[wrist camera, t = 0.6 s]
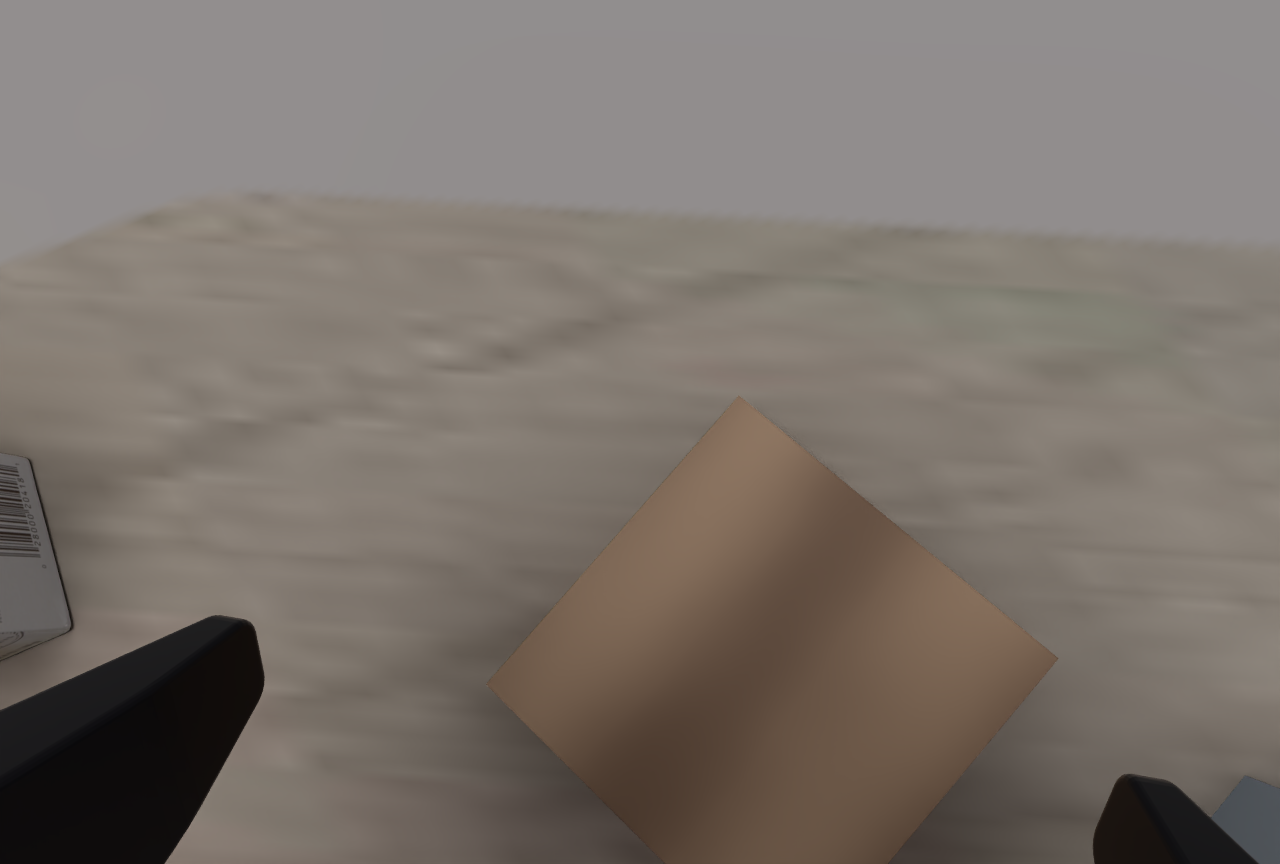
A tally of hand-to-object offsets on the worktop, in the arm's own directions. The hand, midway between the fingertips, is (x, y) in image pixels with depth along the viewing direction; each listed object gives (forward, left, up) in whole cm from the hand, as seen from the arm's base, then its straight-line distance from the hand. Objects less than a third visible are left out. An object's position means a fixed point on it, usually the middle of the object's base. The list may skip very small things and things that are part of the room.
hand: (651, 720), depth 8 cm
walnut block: (-1, -1, -16) cm, 16 cm away
